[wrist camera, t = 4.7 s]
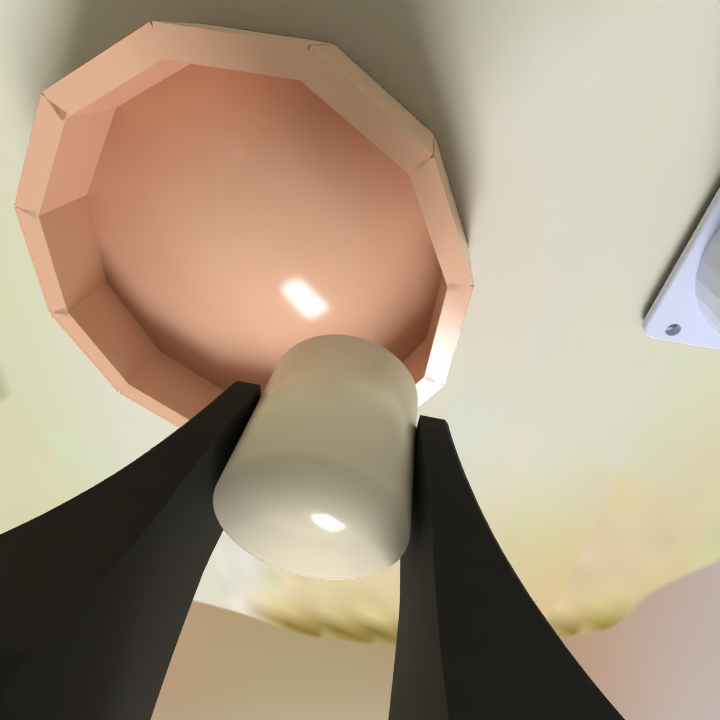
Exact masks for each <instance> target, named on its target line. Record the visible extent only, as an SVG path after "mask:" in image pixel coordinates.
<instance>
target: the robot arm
mask: <svg viewBox="0 0 720 720" xmlns="http://www.w3.org/2000/svg"><path fill="white" fill-rule="evenodd" d="M672 324H676V326H675V327H674V328H673V329H671V330H666V328H667V327H668V326H670V325H672ZM642 328H643V330H644V332H645V333H646V334H647V335H648V336H649V337H652V338H656V339H662V340H668V341H674V342H679V343H685V344H691V345H696V346H702V347H708V348H714V349H719V350H720V188H719V189H718V191H717V193H716V195H715V196H714V198H713V200H712V202H711V203H710V205H709V207H708V209H707V210H706V212H705V214H704V216H703V217H702V219H701V221H700V223H699V224H698V226H697V228H696V230H695V231H694V233H693V235H692V237H691V238H690V240H689V242H688V244H687V245H686V247H685V249H684V250H683V252H682V254H681V256H680V257H679V259H678V261H677V263H676V264H675V266H674V268H673V270H672V271H671V273H670V275H669V277H668V278H667V280H666V282H665V284H664V285H663V287H662V289H661V291H660V292H659V294H658V296H657V298H656V299H655V301H654V303H653V305H652V306H651V308H650V310H649V312H648V313H647V315H646V317H645V319H644V320H643V323H642ZM260 397H261V385H258V384H252V383H247V382H242V381H236V382H234V383H233V384H232V385H230V386H229V387H228V388H227V389H226V390H225V391H223V392H222V393H221V394H220V395H219V396H218V397H217V398H215V399H214V400H213V401H212V402H211V403H210V404H208V405H207V406H206V407H205V408H204V409H202V410H201V411H200V412H199V413H198V414H196V415H195V416H194V417H193V418H191V419H190V420H189V421H188V422H186V423H185V424H184V425H182V426H181V427H180V428H179V429H177V430H176V431H175V432H174V433H172V434H171V435H170V436H168V437H167V438H166V439H164V440H163V441H162V442H160V443H159V444H157V445H156V446H155V447H153V448H152V449H150V450H149V451H148V452H146V453H145V454H143V455H142V456H141V457H139V458H138V459H136V460H135V461H133V462H132V463H130V464H129V465H127V466H126V467H124V468H123V469H121V470H120V471H118V472H117V473H115V474H113V475H112V476H110V477H108V478H107V479H105V480H104V481H102V482H100V483H99V484H97V485H95V486H94V487H92V488H90V489H88V490H87V491H85V492H83V493H81V494H79V495H78V496H76V497H74V498H72V499H71V500H69V501H67V502H65V503H63V504H61V505H59V506H57V507H56V508H54V509H52V510H50V511H48V512H46V513H44V514H42V515H40V516H38V517H36V518H34V519H32V520H30V521H28V522H26V523H24V524H22V525H20V526H18V527H15V528H13V529H11V530H9V531H7V532H5V533H3V534H0V720H150V719H151V716H152V713H153V710H154V707H155V704H156V701H157V698H158V695H159V692H160V690H161V686H162V684H163V681H164V678H165V675H166V672H167V669H168V666H169V663H170V661H171V658H172V654H173V652H174V649H175V647H176V643H177V641H178V638H179V635H180V633H181V630H182V627H183V624H184V622H185V619H186V616H187V613H188V611H189V608H190V606H191V603H192V600H193V598H194V595H195V592H196V590H197V587H198V585H199V582H200V579H201V577H202V574H203V572H204V570H205V567H206V565H207V563H208V560H209V558H210V556H211V554H212V552H213V550H214V548H215V546H216V544H217V542H218V540H219V538H220V536H221V534H222V532H223V530H224V529H223V528H222V526H221V525H220V523H219V521H218V519H217V517H216V514H215V511H214V506H213V494H214V490H215V487H216V485H217V483H218V481H219V479H220V477H221V475H222V473H223V471H224V469H225V467H226V465H227V463H228V461H229V459H230V457H231V455H232V453H233V451H234V449H235V447H236V445H237V443H238V441H239V439H240V437H241V435H242V433H243V431H244V429H245V427H246V425H247V423H248V421H249V419H250V417H251V415H252V413H253V411H254V409H255V407H256V405H257V403H258V401H259V399H260ZM388 720H625V719H624V718H623V717H622V716H621V715H620V714H619V713H618V711H617V710H616V709H615V708H614V707H613V705H612V704H611V703H610V702H609V701H608V699H607V698H606V697H605V696H604V695H603V694H602V692H601V691H600V690H599V689H598V687H597V686H596V685H595V684H594V683H593V681H592V680H591V679H590V677H589V676H588V675H587V674H586V672H585V671H584V670H583V668H582V667H581V666H580V665H579V663H578V662H577V661H576V659H575V658H574V657H573V656H572V654H571V653H570V652H569V650H568V649H567V648H566V647H565V645H564V644H563V642H562V641H561V639H560V638H559V637H558V635H557V634H556V632H555V631H554V630H553V628H552V627H551V625H550V624H549V622H548V621H547V620H546V618H545V617H544V615H543V614H542V613H541V611H540V610H539V608H538V607H537V605H536V604H535V603H534V601H533V600H532V598H531V597H530V595H529V594H528V592H527V591H526V589H525V587H524V586H523V584H522V583H521V581H520V579H519V578H518V576H517V575H516V573H515V572H514V570H513V568H512V566H511V565H510V563H509V561H508V560H507V558H506V556H505V555H504V553H503V551H502V549H501V548H500V546H499V544H498V542H497V540H496V538H495V537H494V535H493V533H492V531H491V529H490V527H489V525H488V523H487V521H486V519H485V517H484V515H483V513H482V511H481V509H480V507H479V505H478V503H477V500H476V498H475V496H474V494H473V491H472V489H471V487H470V484H469V482H468V480H467V478H466V475H465V473H464V470H463V468H462V465H461V462H460V460H459V457H458V454H457V452H456V449H455V446H454V443H453V440H452V437H451V433H450V430H449V426H448V424H447V422H446V421H445V420H443V419H438V418H433V417H427V416H422V415H420V418H419V421H418V425H417V429H416V444H415V461H414V478H413V495H412V511H411V528H410V540H409V543H408V547H407V549H406V550H405V552H404V554H403V555H402V556H401V557H400V608H399V622H398V632H397V643H396V654H395V663H394V673H393V683H392V692H391V702H390V711H389V719H388Z"/></svg>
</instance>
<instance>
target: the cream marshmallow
mask: <svg viewBox="0 0 720 720" xmlns="http://www.w3.org/2000/svg"><path fill="white" fill-rule="evenodd" d="M417 410H418V393H417V388H416V384H415V382H414V380H413V377H412V375H411V374H410V372H409V371H408V369H407V368H406V366H405V365H404V364H403V363H402V362H401V361H400V360H399V359H398V358H397V357H396V356H395V355H394V354H392V353H391V352H390V351H388V350H387V349H385V348H383V347H382V346H380V345H378V344H376V343H374V342H371V341H369V340H366V339H363V338H359V337H355V336H350V335H340V334H331V335H321V336H316V337H312V338H309V339H306V340H304V341H302V342H300V343H298V344H296V345H295V346H293V347H292V348H290V349H289V350H288V351H287V352H286V353H285V354H284V355H283V356H282V357H281V359H280V360H279V362H278V364H277V365H276V367H275V369H274V371H273V373H272V375H271V377H270V379H269V381H268V383H267V385H266V387H265V389H264V391H263V393H262V395H261V397H260V399H259V401H258V403H257V405H256V407H255V409H254V411H253V413H252V415H251V417H250V419H249V421H248V423H247V425H246V427H245V429H244V431H243V433H242V435H241V437H240V439H239V441H238V443H237V445H236V447H235V449H234V451H233V453H232V455H231V457H230V459H229V461H228V463H227V465H226V467H225V469H224V471H223V473H222V475H221V477H220V479H219V481H218V483H217V485H216V487H215V490H214V494H213V506H214V511H215V514H216V517H217V519H218V521H219V523H220V525H221V526H222V528H223V529H224V531H225V532H226V533H227V535H228V536H229V537H230V538H231V539H232V540H233V541H234V542H235V543H236V544H237V545H238V546H240V547H241V548H242V549H244V550H245V551H246V552H248V553H249V554H251V555H252V556H254V557H255V558H257V559H259V560H261V561H263V562H265V563H267V564H269V565H271V566H273V567H276V568H278V569H281V570H284V571H287V572H290V573H293V574H297V575H301V576H306V577H311V578H318V579H329V580H346V579H356V578H361V577H366V576H369V575H373V574H376V573H378V572H381V571H383V570H385V569H387V568H388V567H390V566H392V565H393V564H394V563H395V562H397V561H398V560H399V559H400V557H401V556H402V555H403V554H404V552H405V550H406V549H407V547H408V543H409V540H410V528H411V511H412V495H413V478H414V461H415V444H416V427H417Z"/></svg>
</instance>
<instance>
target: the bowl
mask: <svg viewBox="0 0 720 720" xmlns="http://www.w3.org/2000/svg"><path fill="white" fill-rule="evenodd" d="M42 93H43V94H41V95H40V99H39V103H38V107H37V112H36V116H35V120H34V124H33V128H32V133H31V137H30V141H29V145H28V149H27V154H26V158H25V162H24V166H23V170H22V175H21V179H20V183H19V187H18V191H17V196H16V200H15V204H14V205H15V206H16V207H14V208H15V211H16V214H17V217H18V220H19V223H20V226H21V229H22V232H23V235H24V238H25V241H26V244H27V247H28V250H29V253H30V256H31V259H32V262H33V265H34V268H35V271H36V274H37V277H38V280H39V283H40V286H41V289H42V292H43V295H44V298H45V301H46V304H47V307H48V310H49V312H52V313H50V314H51V315H52V316H53V318H54V319H55V320H56V321H57V322H58V323H59V324H60V326H61V327H62V328H63V329H64V330H65V331H66V333H67V334H68V335H69V336H70V337H71V338H72V339H73V341H74V342H75V343H76V344H77V345H78V346H79V348H80V349H81V350H82V351H83V352H84V353H85V354H86V356H87V357H88V358H89V359H90V360H91V361H92V362H93V364H94V365H95V366H96V367H97V368H98V369H99V371H100V372H101V373H102V374H103V375H104V376H105V377H106V379H107V380H108V381H109V382H110V383H111V384H112V385H113V387H114V388H115V389H116V390H117V391H118V392H119V391H120V394H122V395H124V396H125V397H127V398H129V399H131V400H132V401H134V402H136V403H138V404H139V405H141V406H143V407H145V408H146V409H148V410H150V411H151V412H153V413H155V414H157V415H158V416H160V417H162V418H164V419H165V420H167V421H169V422H170V423H172V424H174V425H176V426H177V427H179V428H180V427H181V426H182V425H184V424H185V423H186V422H188V421H189V420H190V419H191V418H193V417H194V416H195V415H196V414H198V413H199V412H200V411H201V410H202V409H204V408H205V407H206V406H207V405H208V404H210V403H211V402H212V401H213V400H214V399H215V398H217V397H218V396H219V395H220V394H221V393H222V392H223V391H225V390H226V389H227V388H228V387H229V386H230V385H232V384H233V383H234V382H236V381H242V382H247V383H252V384H258V385H261V395H262V393H263V391H264V389H265V387H266V385H267V383H268V381H269V379H270V377H271V375H272V373H273V371H274V369H275V367H276V365H277V364H278V362H279V360H280V359H281V357H282V356H283V355H284V354H285V353H286V352H287V351H288V350H289V349H290V348H292V347H293V346H295V345H296V344H298V343H300V342H302V341H304V340H306V339H309V338H312V337H316V336H321V335H331V334H340V335H350V336H355V337H359V338H363V339H366V340H369V341H371V342H374V343H376V344H378V345H380V346H382V347H383V348H385V349H387V350H388V351H390V352H391V353H392V354H394V355H395V356H396V357H397V358H398V359H399V360H400V361H401V362H402V363H403V364H404V365H405V366H406V368H407V369H408V371H409V372H410V374H411V375H412V377H413V380H414V382H415V384H416V388H417V393H418V407H419V406H420V405H421V404H422V403H423V402H425V401H426V400H427V399H428V398H430V397H431V396H432V395H433V394H434V393H436V392H437V391H438V390H439V389H440V388H442V387H443V386H444V384H445V381H446V378H447V374H448V371H449V368H450V364H451V361H452V358H453V354H454V351H455V347H456V344H457V341H458V337H459V334H460V331H461V327H462V324H463V321H464V317H465V314H466V310H467V307H468V304H469V300H470V297H471V294H472V290H473V285H474V284H473V277H472V269H471V262H470V254H469V247H468V244H467V241H466V237H465V234H464V231H463V227H462V224H461V221H460V217H459V214H458V211H457V207H456V204H455V201H454V197H453V194H452V191H451V188H450V184H449V181H448V178H447V174H446V171H445V168H444V164H443V161H442V158H441V154H440V151H439V148H438V144H437V141H436V138H435V137H434V134H433V133H432V132H431V131H430V130H428V129H427V128H426V127H425V126H424V125H423V124H422V123H421V122H420V121H419V120H417V119H416V118H415V117H414V116H413V115H412V114H411V113H410V112H409V111H407V110H406V109H405V108H404V107H403V106H402V105H401V104H400V103H399V102H398V101H396V100H395V99H394V98H393V97H392V96H391V95H390V94H389V93H388V92H387V91H385V90H384V89H383V88H382V87H381V86H380V85H379V84H378V83H377V82H376V81H374V80H373V79H372V78H371V77H370V76H369V75H368V74H367V73H366V72H365V71H363V70H362V69H361V68H360V67H359V66H358V65H357V64H356V63H355V62H354V61H352V60H351V59H350V58H349V57H348V56H347V55H346V54H345V53H344V52H343V51H341V50H340V49H339V48H338V47H337V46H336V45H335V44H332V43H328V42H321V41H314V40H308V39H301V38H294V37H288V36H281V35H274V34H268V33H261V32H254V31H248V30H241V29H234V28H228V27H221V26H214V25H208V24H196V23H177V22H159V21H152V22H148V23H147V24H145V25H144V26H142V27H141V28H139V29H137V30H136V31H134V32H133V33H131V34H130V35H128V36H127V37H125V38H124V39H122V40H121V41H119V42H118V43H116V44H115V45H113V46H111V47H110V48H108V49H107V50H105V51H104V52H102V53H101V54H99V55H98V56H96V57H95V58H93V59H92V60H90V61H89V62H87V63H85V64H84V65H82V66H81V67H79V68H78V69H76V70H75V71H73V72H72V73H70V74H69V75H67V76H66V77H64V78H63V79H61V80H60V81H58V82H56V83H55V84H53V85H52V86H50V87H49V88H47V89H46V90H44V91H43V92H42Z"/></svg>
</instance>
